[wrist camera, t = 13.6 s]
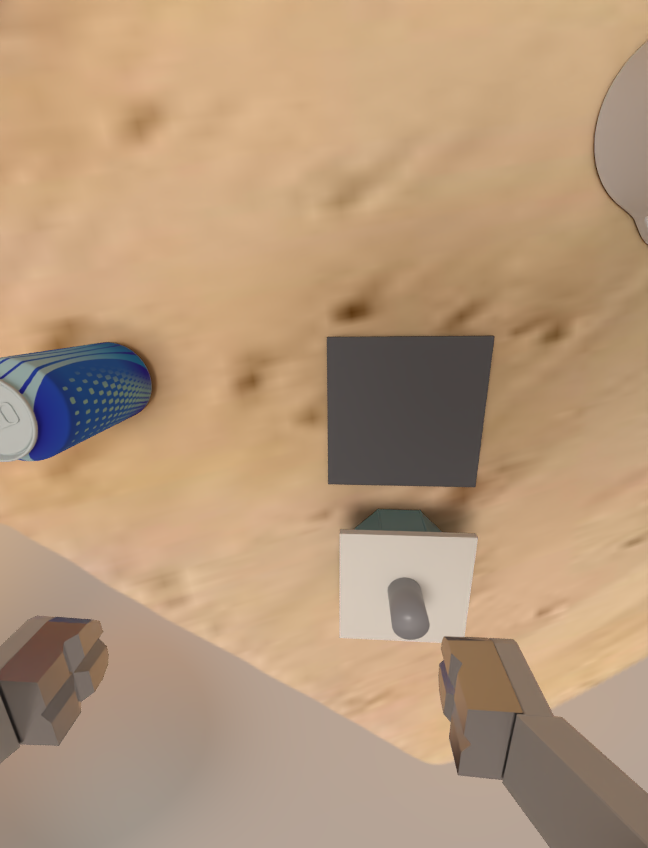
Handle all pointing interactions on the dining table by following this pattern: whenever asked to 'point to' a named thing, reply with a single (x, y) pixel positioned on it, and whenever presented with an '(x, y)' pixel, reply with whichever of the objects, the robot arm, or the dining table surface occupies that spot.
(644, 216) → the robot arm
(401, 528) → the bowl
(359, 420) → the mat
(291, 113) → the dining table surface
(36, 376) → the beer can
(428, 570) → the cover board
